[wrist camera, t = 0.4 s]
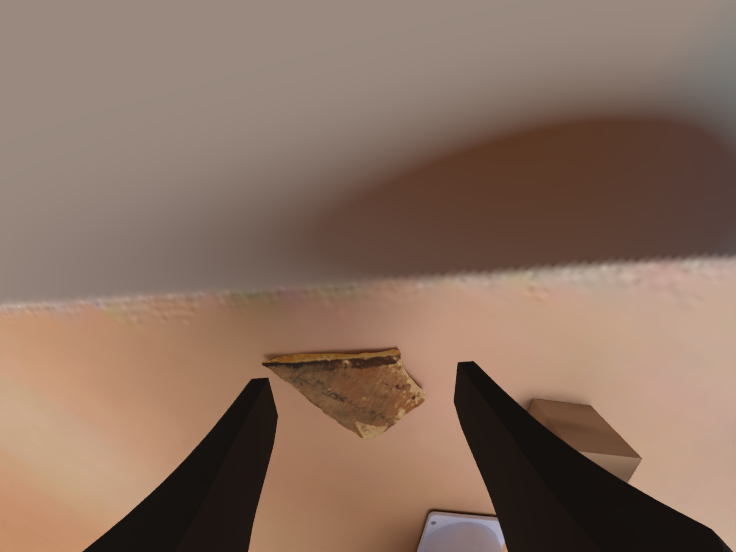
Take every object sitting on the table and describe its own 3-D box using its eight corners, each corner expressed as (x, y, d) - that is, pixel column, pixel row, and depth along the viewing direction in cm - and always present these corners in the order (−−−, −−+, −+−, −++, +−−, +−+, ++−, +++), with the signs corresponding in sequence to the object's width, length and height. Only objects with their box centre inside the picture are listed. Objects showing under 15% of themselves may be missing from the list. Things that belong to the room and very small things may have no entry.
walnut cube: (567, 450, 27) (611, 510, 22) (513, 444, 27) (546, 503, 22) (590, 405, 26) (642, 458, 21) (532, 397, 25) (572, 450, 20)
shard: (266, 352, 24) (259, 366, 22) (336, 287, 22) (333, 296, 20) (365, 430, 26) (365, 448, 25) (433, 377, 25) (438, 392, 23)
